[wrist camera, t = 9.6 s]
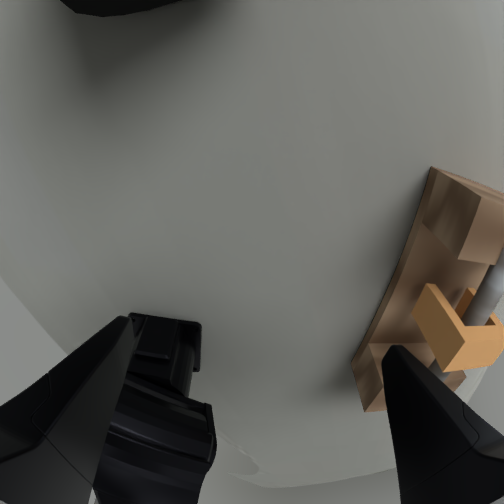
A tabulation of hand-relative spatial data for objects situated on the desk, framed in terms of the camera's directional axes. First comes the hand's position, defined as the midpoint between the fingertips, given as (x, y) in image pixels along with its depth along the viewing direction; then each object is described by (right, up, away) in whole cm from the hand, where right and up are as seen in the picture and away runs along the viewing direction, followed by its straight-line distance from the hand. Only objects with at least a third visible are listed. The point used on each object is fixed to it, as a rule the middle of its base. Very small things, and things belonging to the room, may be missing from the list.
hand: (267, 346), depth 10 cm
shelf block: (+16, 0, +14) cm, 21 cm away
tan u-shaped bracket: (+16, -1, +12) cm, 20 cm away
